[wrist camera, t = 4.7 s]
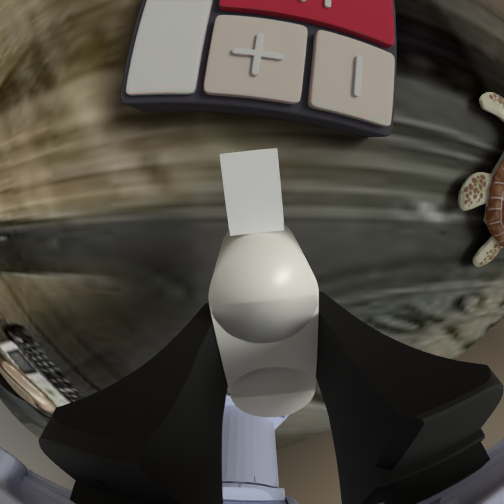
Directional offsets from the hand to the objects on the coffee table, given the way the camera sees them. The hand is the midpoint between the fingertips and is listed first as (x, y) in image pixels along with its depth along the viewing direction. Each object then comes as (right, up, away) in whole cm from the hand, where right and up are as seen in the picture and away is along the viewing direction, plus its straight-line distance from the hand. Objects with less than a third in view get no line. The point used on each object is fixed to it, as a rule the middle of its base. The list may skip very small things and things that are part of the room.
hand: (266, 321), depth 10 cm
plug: (0, +2, +1) cm, 2 cm away
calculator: (0, +16, +4) cm, 16 cm away
